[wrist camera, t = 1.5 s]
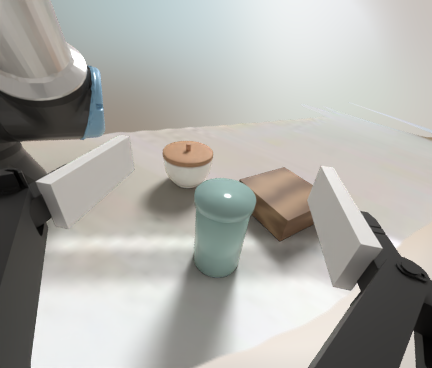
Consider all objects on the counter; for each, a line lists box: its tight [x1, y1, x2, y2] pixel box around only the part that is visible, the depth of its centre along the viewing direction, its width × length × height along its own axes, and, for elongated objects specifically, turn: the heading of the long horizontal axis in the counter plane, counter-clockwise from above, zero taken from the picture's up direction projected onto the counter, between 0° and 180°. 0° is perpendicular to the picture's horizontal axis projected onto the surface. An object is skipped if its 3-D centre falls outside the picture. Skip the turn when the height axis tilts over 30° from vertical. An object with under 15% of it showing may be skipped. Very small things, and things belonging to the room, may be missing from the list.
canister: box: [194, 178, 256, 278], centre depth 29 cm, size 8×8×12 cm
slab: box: [239, 167, 314, 241], centre depth 43 cm, size 13×13×5 cm
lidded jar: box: [163, 141, 213, 188], centre depth 47 cm, size 11×11×9 cm
